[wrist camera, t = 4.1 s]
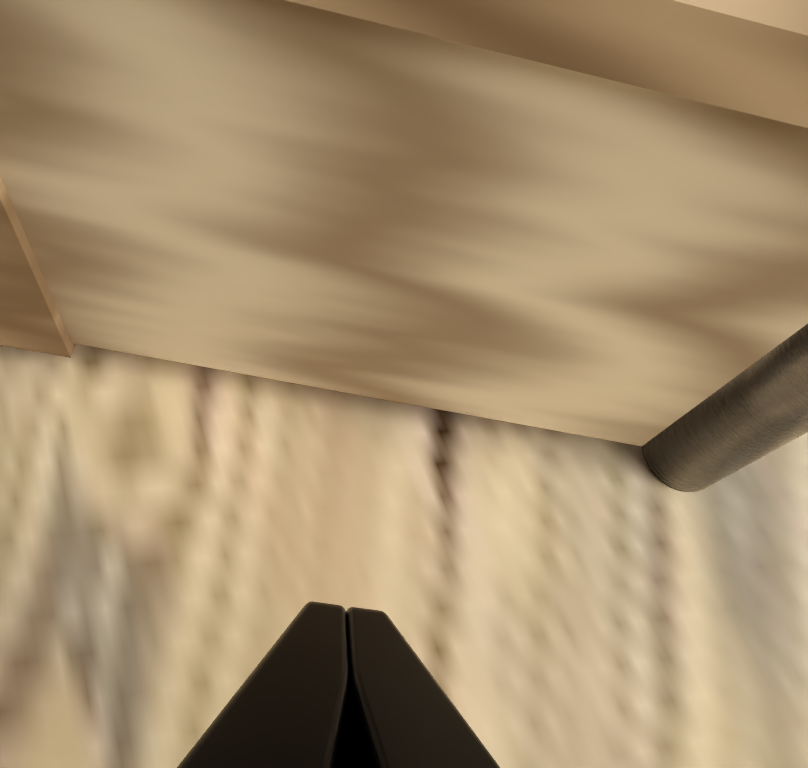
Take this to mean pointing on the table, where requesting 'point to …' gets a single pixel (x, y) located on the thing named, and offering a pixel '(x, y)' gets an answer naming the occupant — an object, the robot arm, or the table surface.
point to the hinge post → (737, 421)
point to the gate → (413, 195)
